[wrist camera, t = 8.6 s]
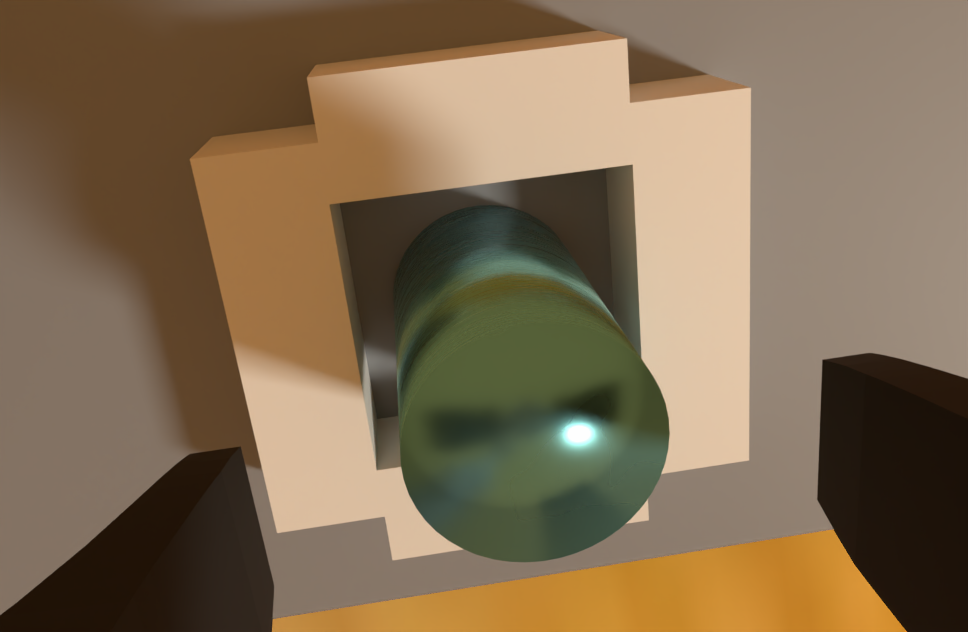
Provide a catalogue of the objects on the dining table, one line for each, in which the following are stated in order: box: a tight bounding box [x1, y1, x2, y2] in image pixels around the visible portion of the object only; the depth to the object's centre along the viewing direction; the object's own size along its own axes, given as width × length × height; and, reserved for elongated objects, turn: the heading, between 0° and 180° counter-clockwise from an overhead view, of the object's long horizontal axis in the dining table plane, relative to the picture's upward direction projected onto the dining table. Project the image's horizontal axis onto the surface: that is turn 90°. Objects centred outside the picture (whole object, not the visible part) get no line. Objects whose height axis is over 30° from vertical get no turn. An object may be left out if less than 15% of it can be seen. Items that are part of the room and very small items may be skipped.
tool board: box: [0, 0, 968, 619], centre depth 17 cm, size 22×14×3 cm, turn 96°
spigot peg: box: [393, 205, 670, 562], centre depth 14 cm, size 4×4×6 cm
